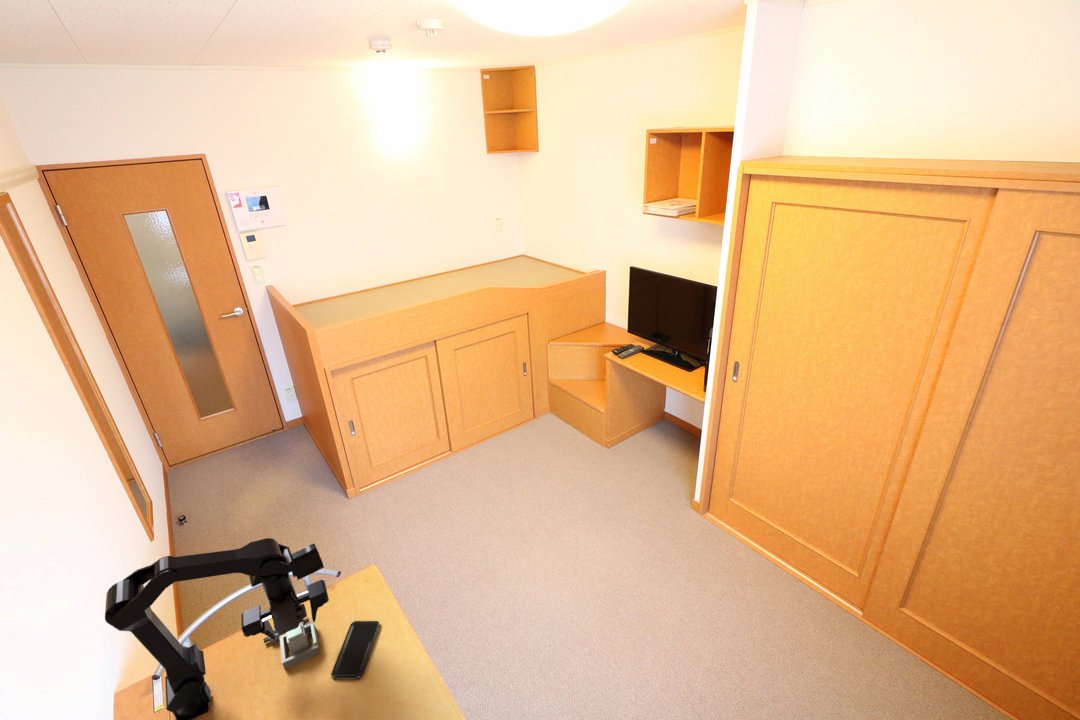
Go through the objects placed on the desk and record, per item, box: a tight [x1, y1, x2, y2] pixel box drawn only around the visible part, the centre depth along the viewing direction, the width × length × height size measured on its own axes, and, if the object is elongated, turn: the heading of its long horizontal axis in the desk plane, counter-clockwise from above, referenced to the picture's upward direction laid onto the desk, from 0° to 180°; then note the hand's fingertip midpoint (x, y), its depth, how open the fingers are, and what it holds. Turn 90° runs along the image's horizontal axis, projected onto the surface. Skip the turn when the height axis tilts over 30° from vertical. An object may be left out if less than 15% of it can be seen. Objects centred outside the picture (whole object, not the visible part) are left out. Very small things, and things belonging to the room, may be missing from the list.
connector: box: [285, 623, 311, 656], centre depth 126 cm, size 4×4×7 cm
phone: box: [330, 620, 381, 681], centre depth 127 cm, size 8×1×15 cm
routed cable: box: [262, 617, 310, 645], centre depth 131 cm, size 11×2×2 cm, turn 120°
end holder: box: [279, 621, 321, 671], centre depth 127 cm, size 8×8×3 cm
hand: (294, 629), depth 125 cm, fingers open, 9 cm apart
